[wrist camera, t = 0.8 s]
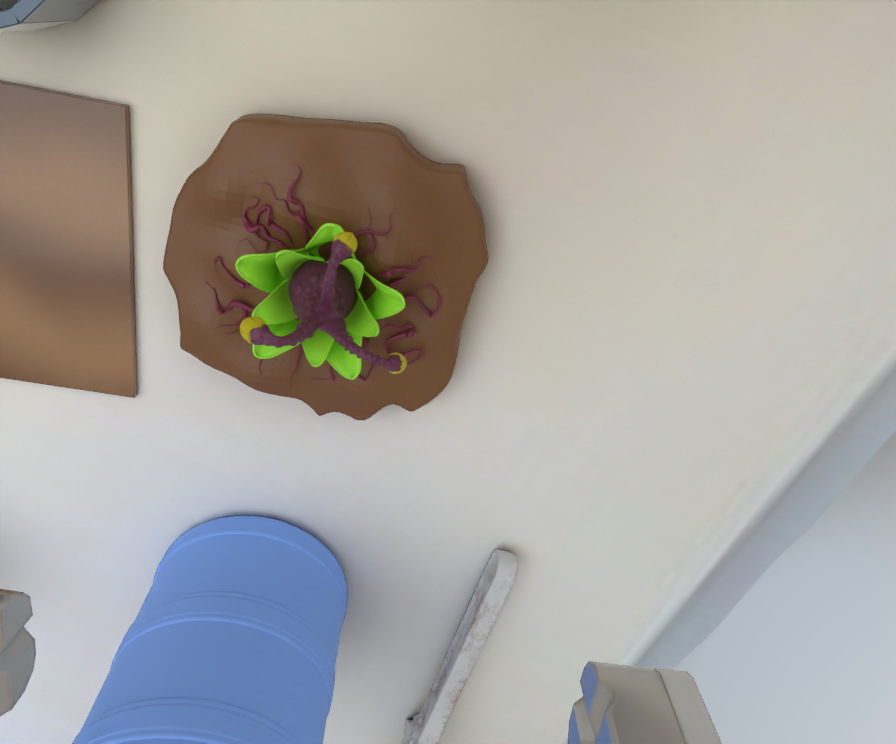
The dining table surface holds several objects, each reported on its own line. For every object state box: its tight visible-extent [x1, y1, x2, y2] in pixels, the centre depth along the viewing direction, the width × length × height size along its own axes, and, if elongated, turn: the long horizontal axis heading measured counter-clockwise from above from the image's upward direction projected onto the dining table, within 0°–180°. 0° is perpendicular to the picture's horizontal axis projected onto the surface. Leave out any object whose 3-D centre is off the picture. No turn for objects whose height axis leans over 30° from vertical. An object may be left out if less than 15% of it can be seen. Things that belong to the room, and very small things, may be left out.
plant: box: [163, 114, 488, 420], centre depth 40 cm, size 20×20×11 cm
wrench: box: [401, 549, 517, 744], centre depth 61 cm, size 8×2×30 cm
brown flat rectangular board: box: [0, 81, 137, 398], centre depth 44 cm, size 20×13×1 cm, turn 169°
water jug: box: [72, 516, 347, 744], centre depth 46 cm, size 16×16×28 cm
